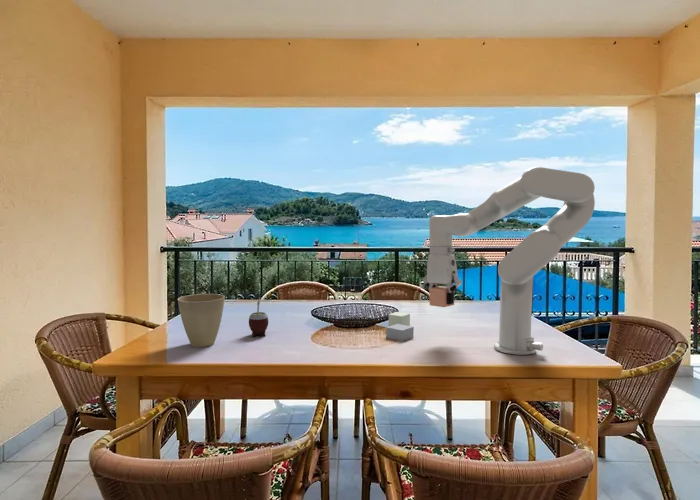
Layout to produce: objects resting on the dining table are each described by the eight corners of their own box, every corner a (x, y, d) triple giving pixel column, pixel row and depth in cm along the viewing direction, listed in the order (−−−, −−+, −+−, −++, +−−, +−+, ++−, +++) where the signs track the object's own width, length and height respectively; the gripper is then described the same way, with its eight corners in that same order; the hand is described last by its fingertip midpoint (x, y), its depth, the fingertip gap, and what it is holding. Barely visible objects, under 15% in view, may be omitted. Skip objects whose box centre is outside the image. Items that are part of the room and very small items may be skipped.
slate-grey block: (413, 337, 154) (413, 326, 154) (402, 341, 149) (402, 330, 149) (397, 334, 159) (397, 323, 159) (386, 338, 154) (386, 327, 153)
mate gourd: (258, 332, 161) (257, 292, 160) (274, 334, 157) (274, 294, 156) (243, 336, 154) (243, 295, 154) (260, 339, 150) (259, 297, 149)
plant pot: (179, 340, 149) (178, 295, 148) (223, 336, 154) (223, 292, 153) (178, 352, 135) (177, 302, 134) (227, 348, 140) (226, 299, 139)
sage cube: (409, 328, 166) (409, 313, 166) (402, 332, 162) (402, 316, 161) (396, 326, 170) (396, 311, 170) (388, 329, 165) (388, 314, 165)
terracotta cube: (454, 304, 148) (453, 287, 148) (444, 307, 144) (443, 289, 144) (439, 302, 153) (439, 286, 153) (429, 305, 149) (429, 288, 149)
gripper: (468, 250, 144) (469, 304, 145) (427, 250, 157) (428, 299, 158) (456, 252, 139) (457, 307, 140) (414, 251, 152) (415, 301, 152)
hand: (441, 302), depth 149 cm, fingers closed on terracotta cube, 6 cm apart
